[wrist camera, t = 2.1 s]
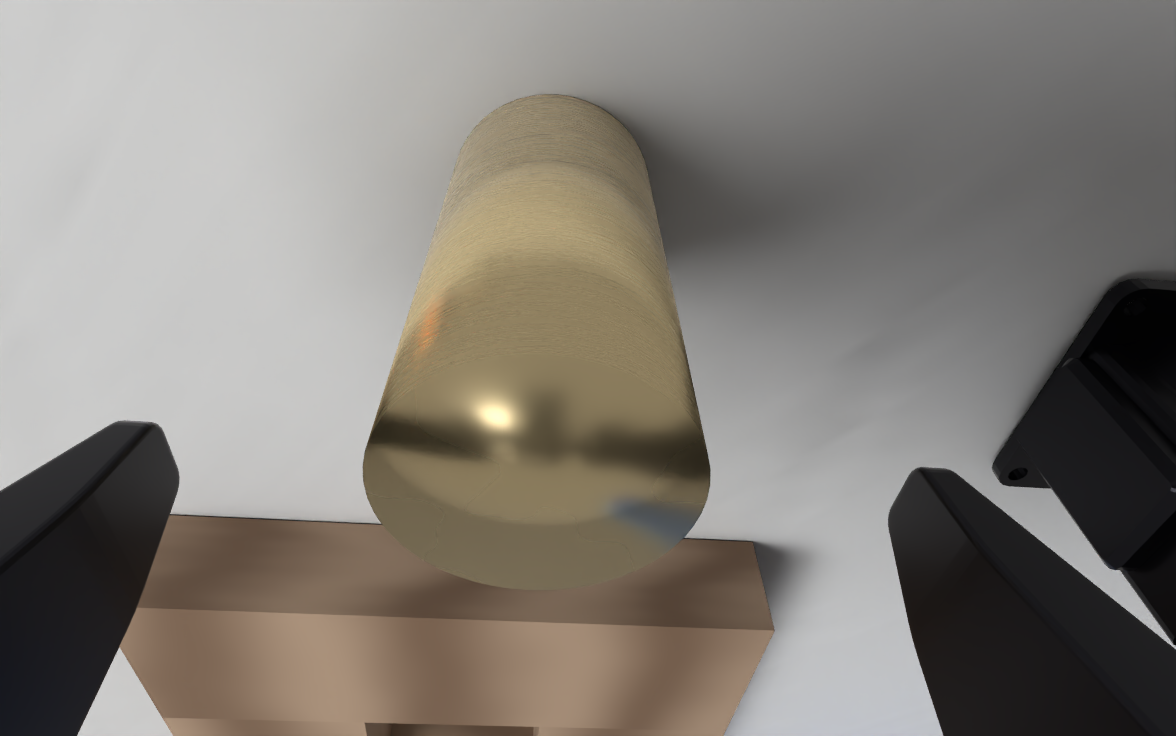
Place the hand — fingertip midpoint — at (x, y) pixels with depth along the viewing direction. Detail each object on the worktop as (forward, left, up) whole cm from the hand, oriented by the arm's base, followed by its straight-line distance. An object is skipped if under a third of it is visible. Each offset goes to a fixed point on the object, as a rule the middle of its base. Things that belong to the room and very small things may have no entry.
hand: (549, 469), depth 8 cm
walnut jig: (+2, +20, -8) cm, 21 cm away
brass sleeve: (0, 0, -8) cm, 8 cm away
